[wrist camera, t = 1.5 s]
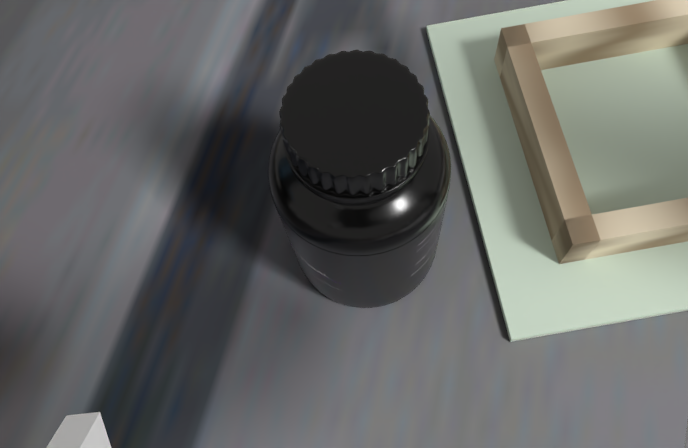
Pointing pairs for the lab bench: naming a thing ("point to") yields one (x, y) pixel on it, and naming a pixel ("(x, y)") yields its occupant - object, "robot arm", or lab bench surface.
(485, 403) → the lab bench surface
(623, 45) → the wooden square frame
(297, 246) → the supplement bottle
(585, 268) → the mat
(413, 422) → the lab bench surface
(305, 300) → the lab bench surface
